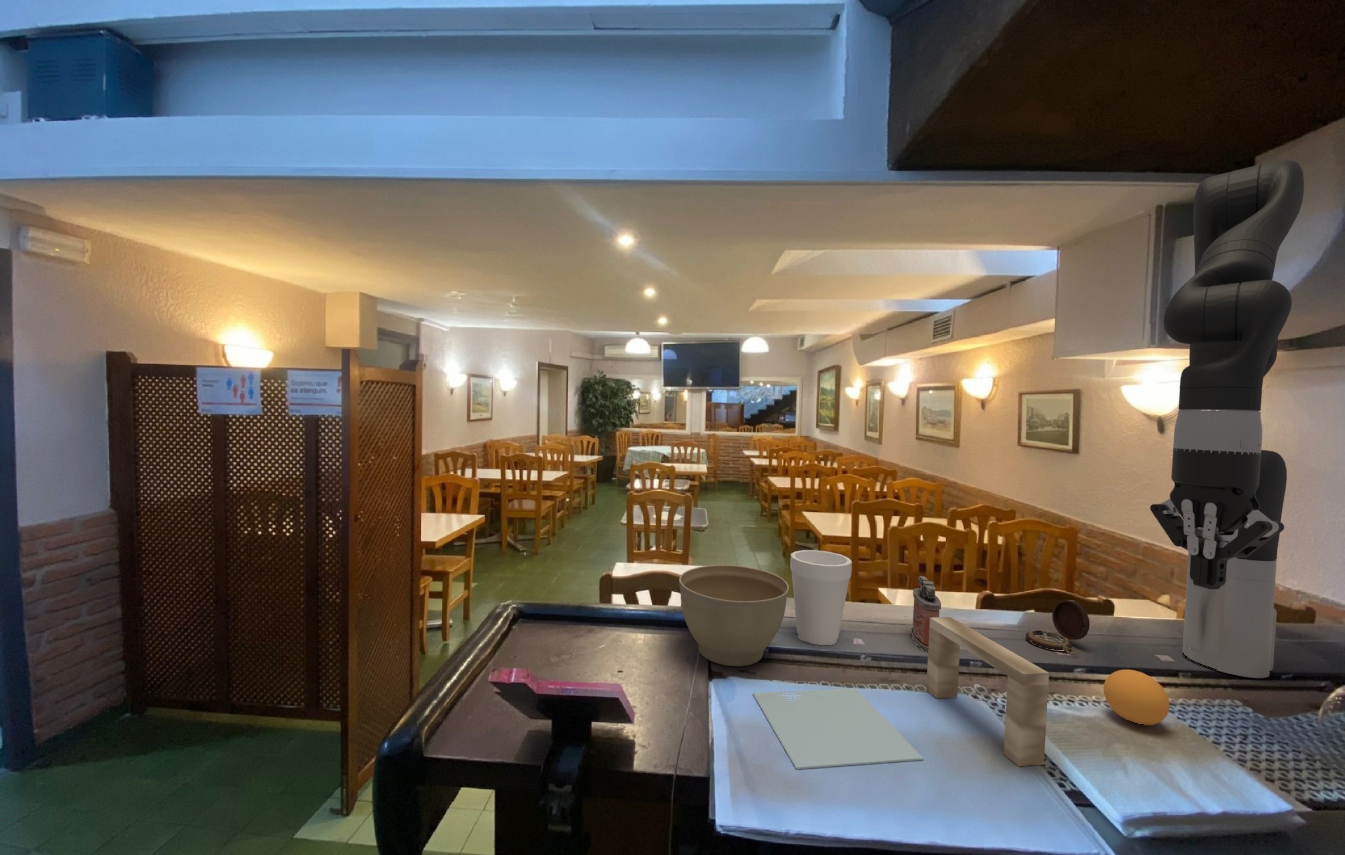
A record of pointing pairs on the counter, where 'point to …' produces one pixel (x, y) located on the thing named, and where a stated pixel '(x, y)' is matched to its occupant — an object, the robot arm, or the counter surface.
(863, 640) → the counter surface
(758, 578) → the planter bowl
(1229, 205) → the robot arm
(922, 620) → the lighter
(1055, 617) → the compass
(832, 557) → the foam cup
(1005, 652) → the bridge
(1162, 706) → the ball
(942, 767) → the counter surface
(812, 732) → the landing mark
